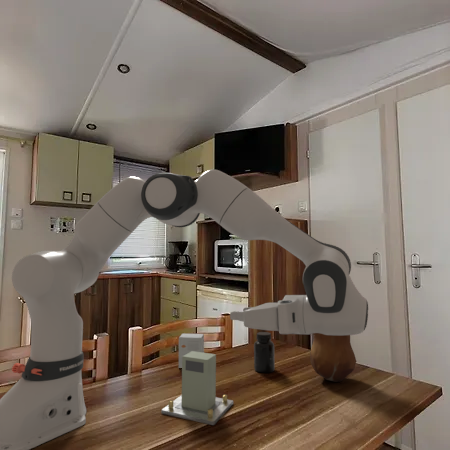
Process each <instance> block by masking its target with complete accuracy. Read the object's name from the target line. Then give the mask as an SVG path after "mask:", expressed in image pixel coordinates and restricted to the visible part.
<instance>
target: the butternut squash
mask: <svg viewBox="0 0 450 450" xmlns="http://www.w3.org/2000/svg"><path fill="white" fill-rule="evenodd" d="M312 337H313V342H312V345H311V349H310V357H309V358H310V364H311V366H312V369H313V370H314V371H315V373H316V374H317V375H319V376H320V377H322V378H324V379H325V380H327V381H331V382H334V383H340V382H343V380H345V379H346V378H347V377H348V376H349V375H350V374H351V373H353V372H354V370H355V368H356V363H357V358H356V355H355V352H354V350H353V347H352V344H351V335H344V336H333V335H324V334H321V333H313V334H312Z"/></svg>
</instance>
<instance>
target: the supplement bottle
mask: <svg viewBox="0 0 450 450" xmlns="http://www.w3.org/2000/svg"><path fill="white" fill-rule="evenodd" d="M253 360H254V361H253V364H254V367H253V368H254V370H255V372H257V373H261V374H270V373H273V372H274V371H275V368H276V367H275V366H276V365H275V364H276V363H275V344H274V342H273V341H272V334H271V332H269V331H268V332H267V331H260V332H257V333H256V341H255V342H254V344H253Z"/></svg>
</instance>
